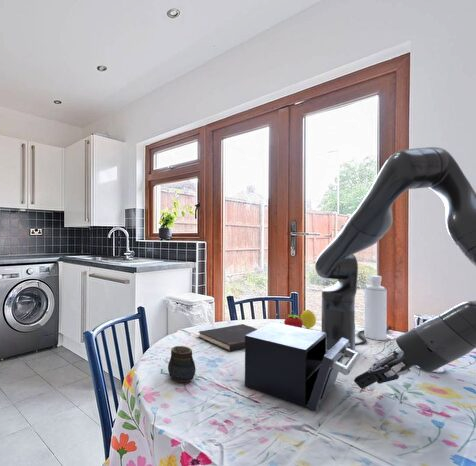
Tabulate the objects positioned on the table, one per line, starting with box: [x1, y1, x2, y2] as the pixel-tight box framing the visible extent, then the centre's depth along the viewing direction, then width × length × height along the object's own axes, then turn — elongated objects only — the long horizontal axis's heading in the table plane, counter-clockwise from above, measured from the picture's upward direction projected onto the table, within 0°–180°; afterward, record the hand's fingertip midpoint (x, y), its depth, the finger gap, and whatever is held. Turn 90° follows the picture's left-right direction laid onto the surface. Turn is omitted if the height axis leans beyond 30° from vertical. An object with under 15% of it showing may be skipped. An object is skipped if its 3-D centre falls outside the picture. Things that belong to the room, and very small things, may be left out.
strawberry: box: [283, 312, 303, 328], centre depth 120 cm, size 6×8×10 cm
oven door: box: [306, 337, 361, 412], centre depth 74 cm, size 5×18×13 cm, turn 135°
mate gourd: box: [167, 345, 197, 384], centre depth 84 cm, size 7×8×10 cm
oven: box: [244, 321, 327, 409], centre depth 82 cm, size 14×18×13 cm
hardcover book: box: [197, 323, 258, 352], centre depth 116 cm, size 16×23×2 cm
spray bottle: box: [363, 275, 388, 341], centre depth 120 cm, size 7×7×25 cm
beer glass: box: [412, 313, 445, 374], centre depth 92 cm, size 7×7×15 cm
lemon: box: [299, 309, 317, 329], centre depth 130 cm, size 6×6×8 cm
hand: (357, 383), depth 71 cm, fingers closed
